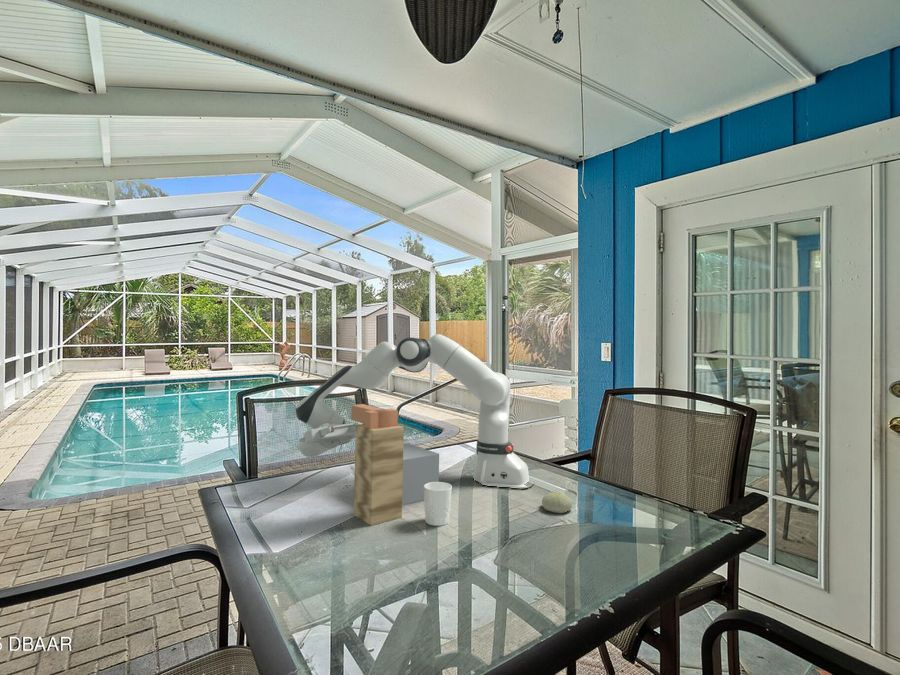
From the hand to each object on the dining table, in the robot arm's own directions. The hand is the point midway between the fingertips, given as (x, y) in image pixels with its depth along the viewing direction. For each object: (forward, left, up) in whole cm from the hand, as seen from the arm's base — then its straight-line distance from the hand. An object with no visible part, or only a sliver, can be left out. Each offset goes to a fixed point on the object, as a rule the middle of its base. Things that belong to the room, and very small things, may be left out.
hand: (345, 426), depth 152 cm
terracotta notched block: (-14, +7, +4) cm, 16 cm away
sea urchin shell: (-64, -19, -23) cm, 71 cm away
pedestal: (-18, +10, -22) cm, 31 cm away
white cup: (-35, +6, -23) cm, 42 cm away
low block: (-16, -11, -22) cm, 30 cm away
